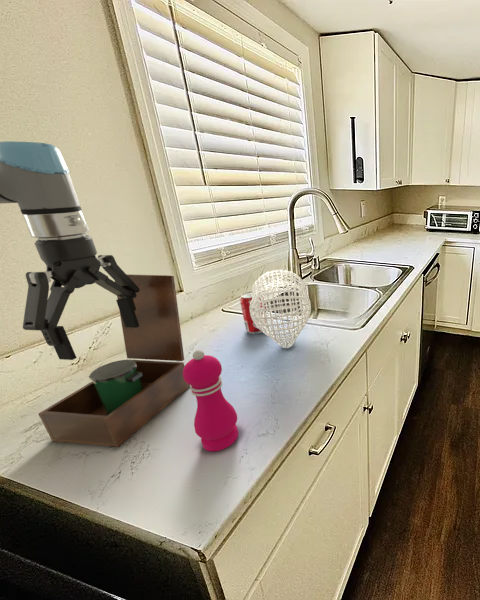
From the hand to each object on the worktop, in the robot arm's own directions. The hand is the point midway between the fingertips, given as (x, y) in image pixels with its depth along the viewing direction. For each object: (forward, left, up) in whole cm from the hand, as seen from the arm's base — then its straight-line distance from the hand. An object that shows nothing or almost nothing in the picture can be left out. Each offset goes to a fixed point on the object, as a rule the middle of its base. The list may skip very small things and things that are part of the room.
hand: (103, 341), depth 66 cm
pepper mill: (+26, -6, -18) cm, 32 cm away
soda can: (+8, +41, -18) cm, 45 cm away
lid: (0, +11, 0) cm, 11 cm away
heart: (+23, +31, -18) cm, 42 cm away
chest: (0, 0, -17) cm, 17 cm away
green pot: (0, 0, -17) cm, 17 cm away
